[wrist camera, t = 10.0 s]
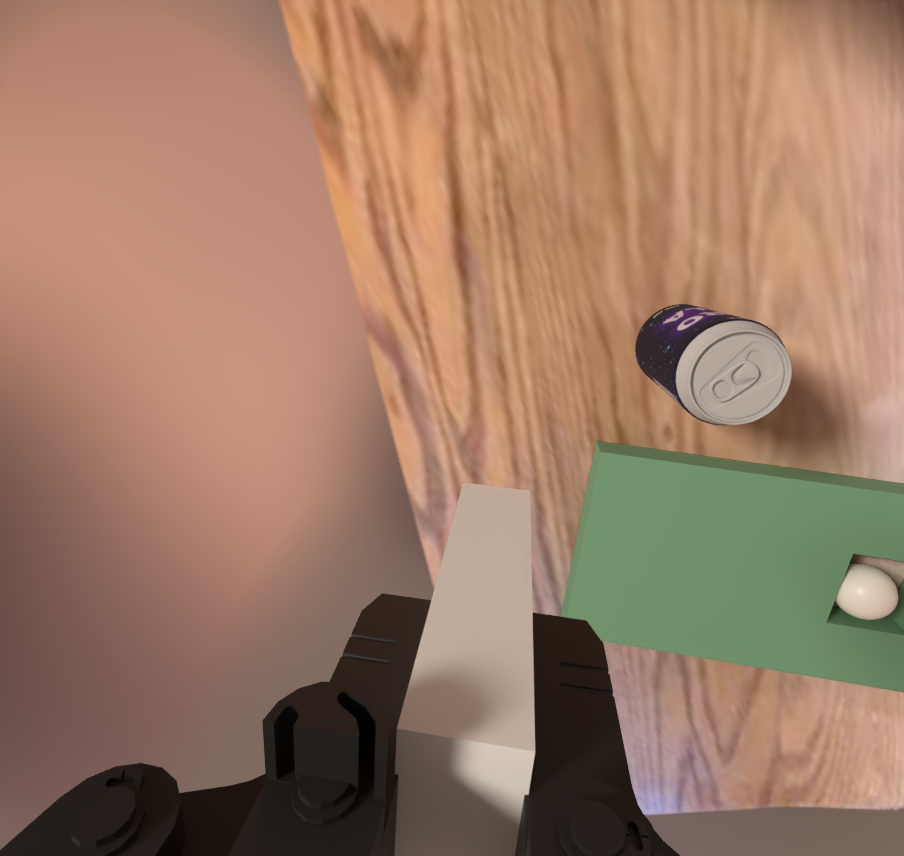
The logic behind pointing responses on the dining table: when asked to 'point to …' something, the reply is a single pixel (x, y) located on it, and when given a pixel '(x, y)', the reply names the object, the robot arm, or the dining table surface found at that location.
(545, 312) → the dining table surface
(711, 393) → the beverage can
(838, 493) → the putting mat
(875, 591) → the ball
